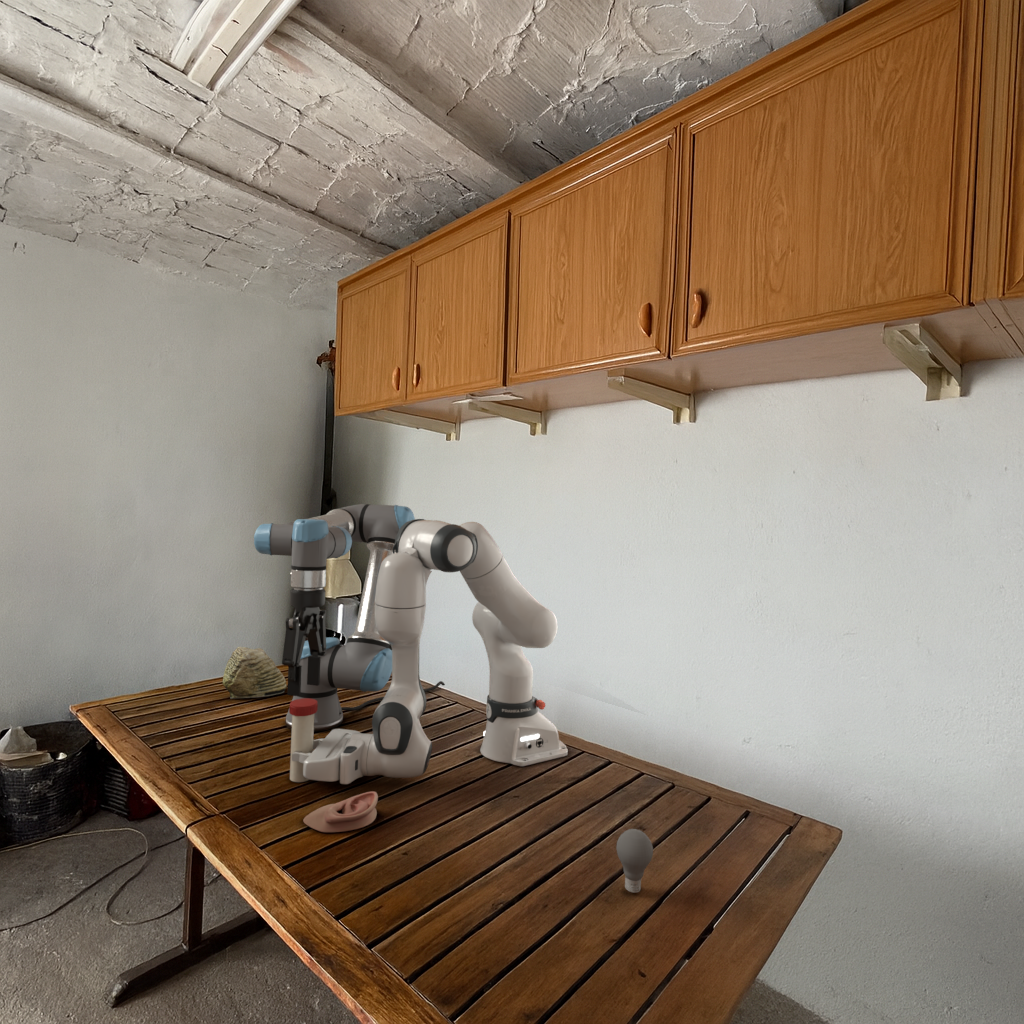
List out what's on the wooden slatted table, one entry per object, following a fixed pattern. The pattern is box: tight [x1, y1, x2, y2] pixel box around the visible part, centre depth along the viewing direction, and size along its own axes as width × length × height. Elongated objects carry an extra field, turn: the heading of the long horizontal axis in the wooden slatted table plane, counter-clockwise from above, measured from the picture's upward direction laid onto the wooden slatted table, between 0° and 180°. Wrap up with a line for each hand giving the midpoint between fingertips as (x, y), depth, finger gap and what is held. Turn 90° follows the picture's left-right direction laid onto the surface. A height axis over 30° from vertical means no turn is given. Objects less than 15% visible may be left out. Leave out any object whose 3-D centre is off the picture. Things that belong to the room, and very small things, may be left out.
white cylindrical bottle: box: [289, 714, 315, 783], centre depth 142 cm, size 5×5×17 cm
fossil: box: [222, 646, 288, 699], centre depth 198 cm, size 9×18×15 cm, turn 132°
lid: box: [288, 698, 318, 716], centre depth 142 cm, size 6×6×2 cm
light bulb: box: [615, 828, 654, 894], centre depth 106 cm, size 6×6×10 cm
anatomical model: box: [302, 791, 379, 833], centre depth 125 cm, size 13×4×12 cm
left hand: (303, 689), depth 142 cm, fingers open, 8 cm apart
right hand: (297, 750), depth 142 cm, fingers closed on white cylindrical bottle, 5 cm apart
